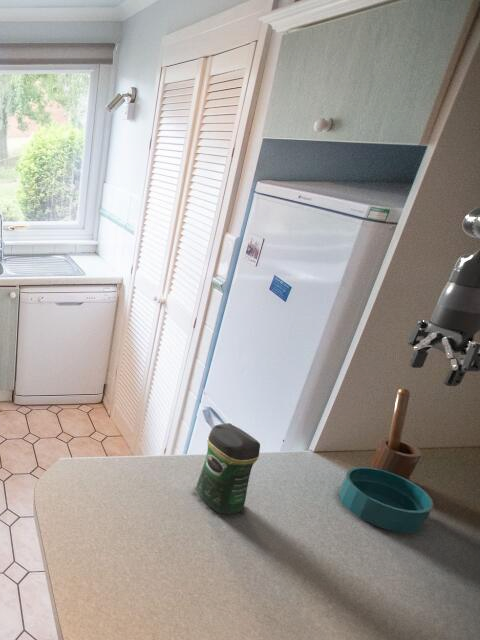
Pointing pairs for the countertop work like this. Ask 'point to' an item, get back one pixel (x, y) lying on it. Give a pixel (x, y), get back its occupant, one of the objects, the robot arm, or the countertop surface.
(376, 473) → the bowl
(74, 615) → the countertop surface
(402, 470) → the utensil pot
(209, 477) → the coffee jar
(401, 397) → the stick
